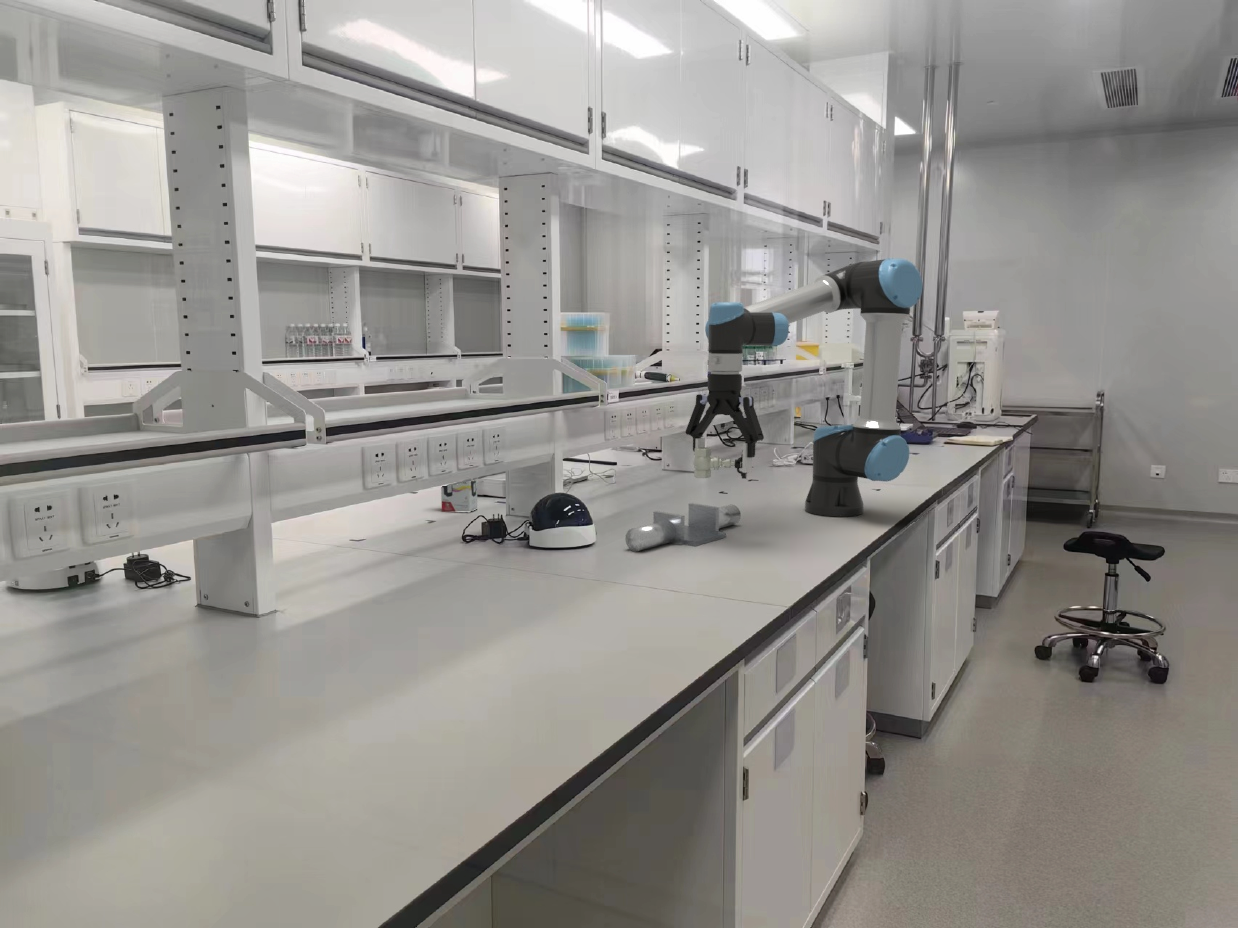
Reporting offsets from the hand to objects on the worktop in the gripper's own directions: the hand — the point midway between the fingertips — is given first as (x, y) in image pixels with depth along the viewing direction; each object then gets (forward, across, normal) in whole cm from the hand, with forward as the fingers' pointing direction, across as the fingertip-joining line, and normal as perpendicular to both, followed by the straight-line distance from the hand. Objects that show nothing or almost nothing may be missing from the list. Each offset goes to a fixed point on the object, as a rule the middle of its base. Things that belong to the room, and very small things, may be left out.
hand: (722, 469), depth 198 cm
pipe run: (+17, -8, -2) cm, 19 cm away
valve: (+2, -1, 0) cm, 2 cm away
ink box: (+17, -73, -16) cm, 77 cm away
